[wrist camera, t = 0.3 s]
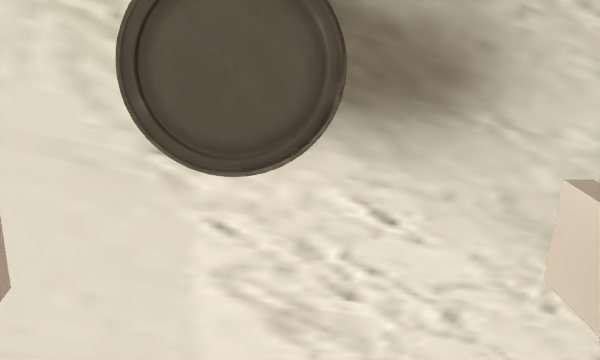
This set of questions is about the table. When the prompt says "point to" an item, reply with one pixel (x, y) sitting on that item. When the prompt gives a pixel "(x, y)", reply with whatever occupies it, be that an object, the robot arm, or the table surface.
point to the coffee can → (231, 79)
